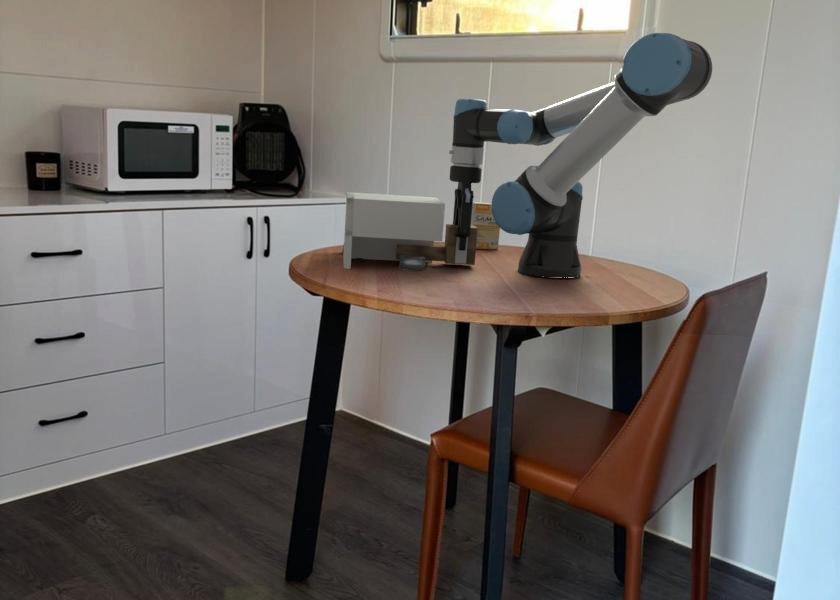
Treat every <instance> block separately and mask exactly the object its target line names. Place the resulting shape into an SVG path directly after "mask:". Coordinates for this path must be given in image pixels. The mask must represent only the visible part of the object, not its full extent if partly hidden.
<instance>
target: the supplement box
mask: <svg viewBox="0 0 840 600" xmlns="http://www.w3.org/2000/svg"><path fill="white" fill-rule="evenodd" d="M471 225H472V226H475V227H477V228H478V229H477V242H476V250H494V249H496V251H498V250H499V241H500V232H501V231H500V230H501V228H500V227H499V226H498V225H497V223H496V222H495V220H494V217H493V214H492V202H481V201H480V202H478V201H473V203H472V215H471Z"/></svg>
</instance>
